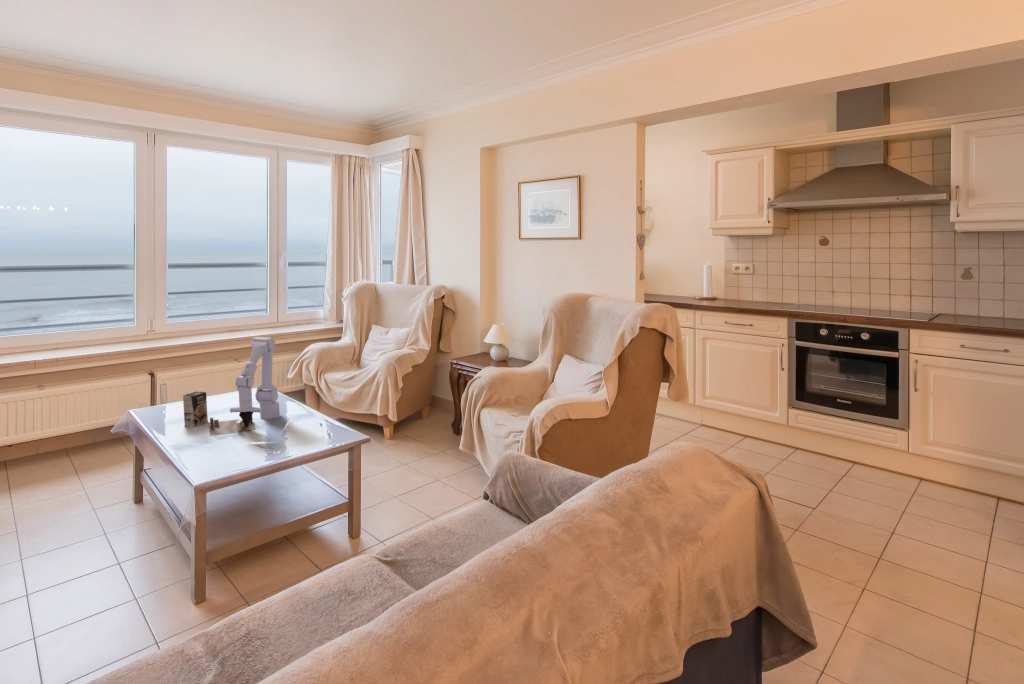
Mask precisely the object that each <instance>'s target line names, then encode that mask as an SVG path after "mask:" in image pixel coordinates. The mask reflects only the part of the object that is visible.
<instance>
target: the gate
mask: <svg viewBox="0 0 1024 684" xmlns="http://www.w3.org/2000/svg"><path fill="white" fill-rule="evenodd" d="M238 419H239V420H238ZM238 419H237V420H238V421H237V422H236V424H237V431H240V430H241V429H242V428H243V426H244V423H243V420H242V419H241V417H239V418H238Z"/></svg>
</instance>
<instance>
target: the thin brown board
mask: <svg viewBox="0 0 1024 684" xmlns="http://www.w3.org/2000/svg"><path fill="white" fill-rule="evenodd" d="M239 419H240V418H238V419H230V420H229V419H228V420H221V421H219V419H214V417H209V422H207V425H208V429H209V430H208V431H209V435H210V437H214V436H220V435H228V434H236V433H242V432H251V431H256V430H257V428H256V426H255V424H254V422H253V420H254V419H253V415H252V416H251V419H250V423H249V426H248V427H245V426H243V428H242V429H241V430H240V431H237V424H236V422H237V421H238V420H239Z"/></svg>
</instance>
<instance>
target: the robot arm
mask: <svg viewBox="0 0 1024 684" xmlns="http://www.w3.org/2000/svg"><path fill="white" fill-rule="evenodd" d="M251 349H252V350H251V353H250V356H249V360H248V362H245V364H244V366H243V369H242V370H241V374H240V375H239V376H237V377H236V380H235V386H236V388H237V389H236V390H237V391H238V398H239V399H238V401H239V407H230V408H229V412H230V413H239V414H238V417H239V418H241V419H242V420H243V423H244V426H245V427H248V426H249V423H250V419H251V416H252V417H253V414H254V413H259V414H260V415H259V417H260V419H262V420H271V419H277V418H281V416H280V415H281V414H280V404H279V401H278V399H279V398H278V397H279V393H278V388H277V386H275V385H274V384H273V355H274V353H275V351H276V341H275V339H274V338H273V337H263V336H262V337H261V336H260V337H259V336H254V337H253V338H252V339H251ZM260 357H261V384H259V385H258V386H257V388H256V390H255V391H256V392H255V400H256V401H257V402H258V404H259V407H255V406H253V393H252V391H253V390H252V388H253V385H254V383H255V380H254V379H255V374H256V372H257V369H258V366H257V364H258V362H259V359H260Z"/></svg>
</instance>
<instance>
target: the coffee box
mask: <svg viewBox="0 0 1024 684" xmlns="http://www.w3.org/2000/svg"><path fill="white" fill-rule="evenodd" d="M182 397H183V398H182V400H183V418H184V420H183V421H184V426H185V427H189V426H191V428H196V426H197V427H199V426H202V425H204V424H206V423H208V420H209V419H208V418H209V417H208V405H207V404H208V403H207V402H208V401H207V392H206V391H193V392H190V393H187V394H183V396H182ZM203 423H204V424H203ZM201 424H202V425H201ZM198 425H199V426H198Z"/></svg>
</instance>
